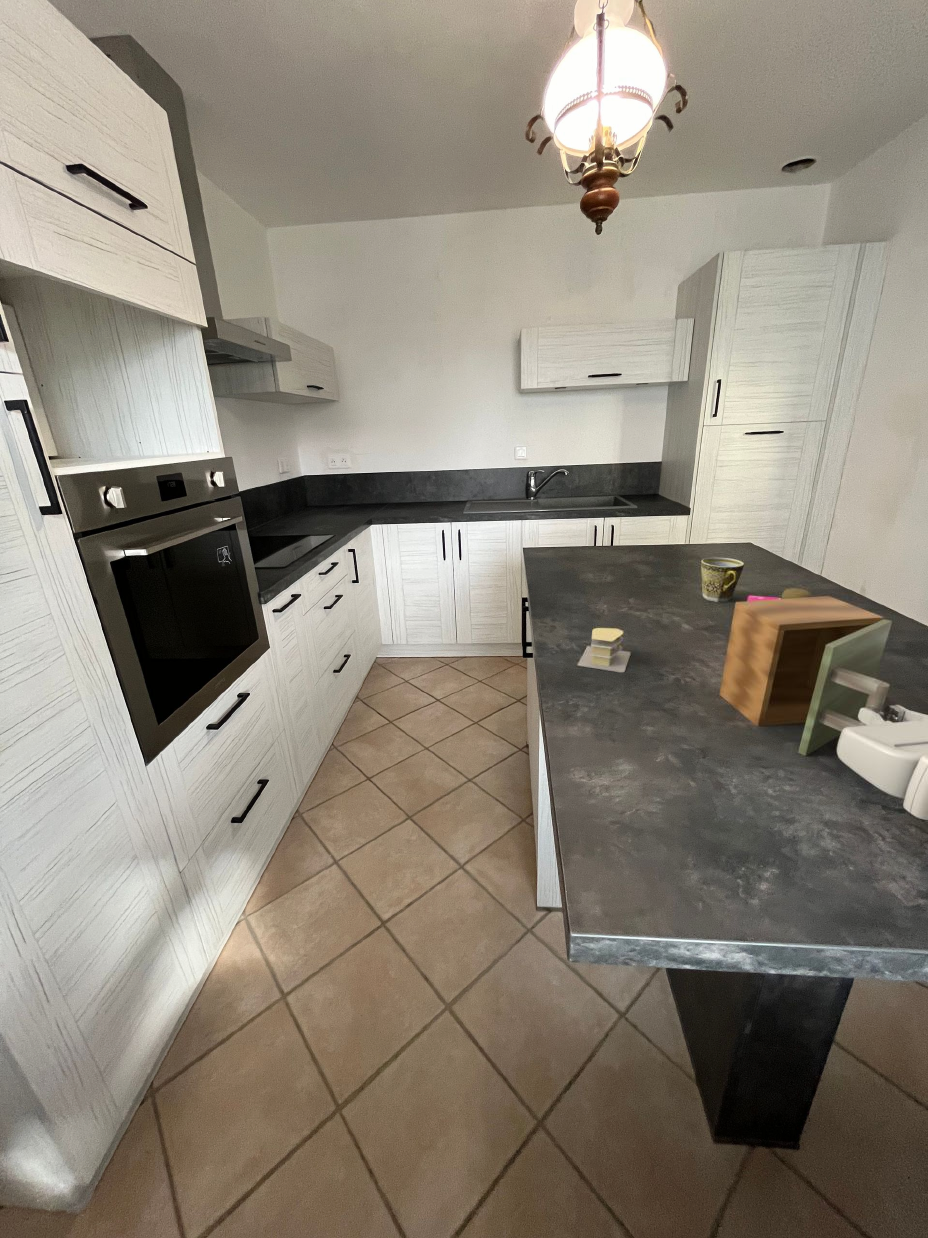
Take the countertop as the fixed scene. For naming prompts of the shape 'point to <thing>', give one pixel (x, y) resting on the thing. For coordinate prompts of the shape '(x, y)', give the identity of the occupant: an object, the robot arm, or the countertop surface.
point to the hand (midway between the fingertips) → (876, 711)
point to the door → (846, 685)
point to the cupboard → (783, 654)
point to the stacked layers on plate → (605, 651)
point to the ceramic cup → (720, 578)
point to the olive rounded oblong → (795, 593)
